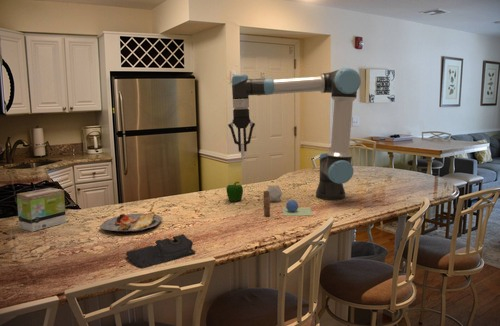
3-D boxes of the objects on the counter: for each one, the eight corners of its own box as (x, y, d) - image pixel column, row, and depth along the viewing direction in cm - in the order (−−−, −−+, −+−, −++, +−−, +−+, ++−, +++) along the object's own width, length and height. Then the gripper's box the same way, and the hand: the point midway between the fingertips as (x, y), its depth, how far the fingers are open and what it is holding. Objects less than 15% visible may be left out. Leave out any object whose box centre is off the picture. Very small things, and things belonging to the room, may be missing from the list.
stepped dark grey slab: (121, 257, 135) (120, 243, 134) (179, 242, 149) (178, 229, 148) (139, 272, 123) (138, 257, 123) (201, 254, 137) (200, 241, 136)
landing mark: (309, 207, 190) (309, 207, 190) (313, 215, 178) (313, 215, 178) (282, 207, 191) (282, 207, 191) (284, 215, 178) (284, 215, 178)
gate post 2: (269, 215, 180) (269, 197, 178) (270, 216, 177) (269, 198, 176) (264, 215, 180) (263, 197, 178) (264, 216, 177) (264, 199, 176)
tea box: (32, 232, 160) (29, 196, 158) (19, 228, 165) (15, 193, 163) (67, 222, 173) (64, 189, 170) (53, 219, 178) (50, 186, 176)
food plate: (115, 217, 180) (115, 210, 179) (167, 217, 179) (167, 209, 178) (92, 236, 155) (91, 227, 155) (152, 236, 154) (151, 227, 154)
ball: (288, 196, 186) (284, 207, 187) (289, 199, 180) (284, 210, 181) (299, 201, 186) (295, 211, 187) (300, 204, 180) (295, 215, 181)
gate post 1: (269, 207, 192) (269, 191, 191) (269, 208, 189) (269, 192, 188) (263, 207, 192) (263, 191, 191) (263, 208, 189) (263, 192, 188)
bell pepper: (223, 201, 204) (222, 182, 202) (231, 198, 211) (231, 179, 210) (237, 203, 200) (237, 183, 198) (245, 199, 207) (245, 180, 206)
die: (277, 205, 198) (286, 188, 200) (262, 196, 199) (271, 179, 201) (275, 206, 206) (285, 190, 208) (261, 198, 207) (270, 182, 209)
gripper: (226, 109, 184) (228, 160, 188) (255, 108, 185) (256, 159, 188) (227, 108, 192) (229, 157, 196) (254, 107, 192) (256, 156, 196)
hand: (242, 158), depth 192 cm, fingers closed
